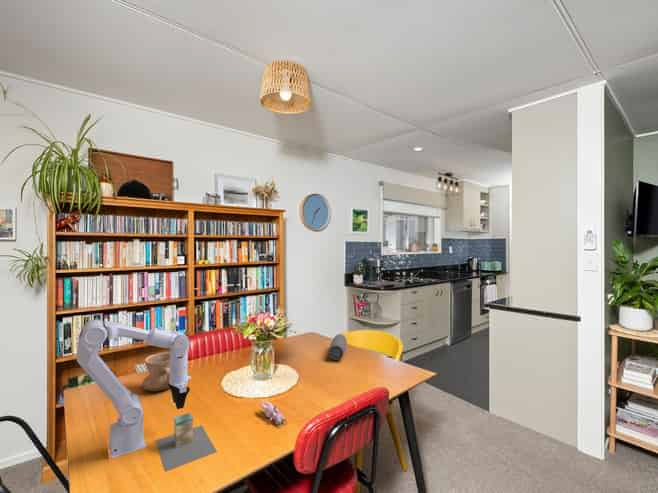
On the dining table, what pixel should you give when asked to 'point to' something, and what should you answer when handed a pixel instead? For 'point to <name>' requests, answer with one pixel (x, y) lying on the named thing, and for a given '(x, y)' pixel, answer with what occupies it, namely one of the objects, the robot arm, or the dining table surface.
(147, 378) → the ceramic jug
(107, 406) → the dining table surface
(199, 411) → the dining table surface
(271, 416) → the rabbit figure
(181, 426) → the maple block
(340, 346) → the bluetooth speaker
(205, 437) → the rubber mat
